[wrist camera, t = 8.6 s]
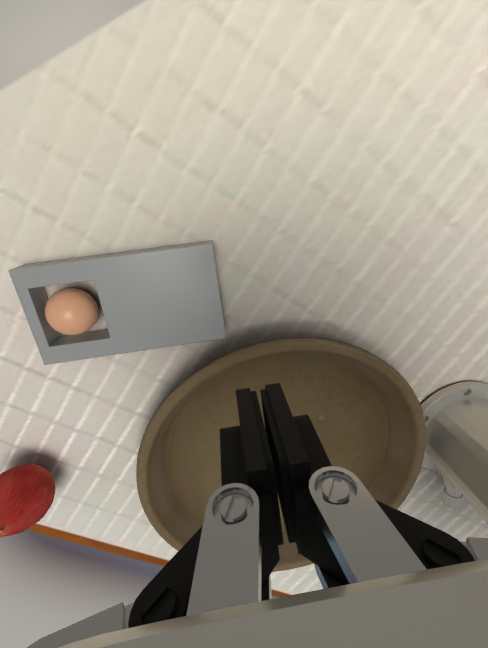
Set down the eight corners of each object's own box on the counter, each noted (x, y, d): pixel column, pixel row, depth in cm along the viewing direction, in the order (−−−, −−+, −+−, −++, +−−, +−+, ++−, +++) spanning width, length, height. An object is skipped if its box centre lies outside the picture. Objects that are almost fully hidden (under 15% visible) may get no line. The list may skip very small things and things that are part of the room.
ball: (65, 347, 26) (46, 337, 28) (112, 329, 28) (91, 321, 31) (48, 299, 24) (30, 293, 27) (99, 284, 27) (78, 280, 29)
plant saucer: (455, 411, 39) (486, 437, 35) (295, 566, 46) (304, 603, 42) (255, 262, 30) (263, 272, 26) (91, 483, 37) (76, 520, 33)
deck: (224, 327, 32) (226, 338, 29) (56, 352, 31) (44, 364, 28) (211, 240, 29) (212, 243, 26) (24, 264, 28) (8, 270, 25)
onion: (73, 484, 36) (39, 556, 29) (19, 491, 36) (-29, 568, 28) (58, 442, 34) (18, 510, 27) (1, 450, 34) (-57, 521, 26)
